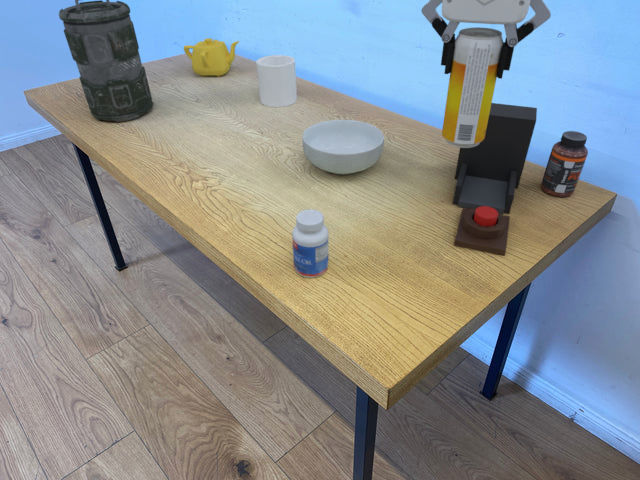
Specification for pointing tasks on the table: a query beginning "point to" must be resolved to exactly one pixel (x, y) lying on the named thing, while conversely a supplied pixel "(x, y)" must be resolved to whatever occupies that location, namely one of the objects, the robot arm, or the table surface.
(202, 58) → the teapot
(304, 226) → the pill bottle
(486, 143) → the dark grey cradle
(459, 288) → the table surface
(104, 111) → the canister
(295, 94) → the mug
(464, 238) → the button block
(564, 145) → the supplement bottle
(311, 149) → the cereal bowl
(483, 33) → the beer can
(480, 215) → the button
